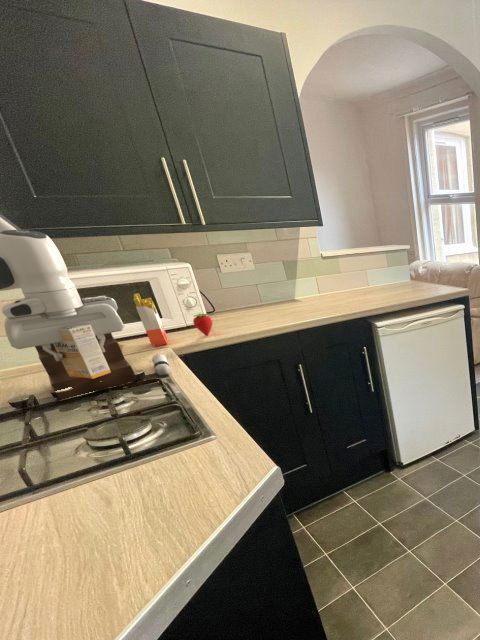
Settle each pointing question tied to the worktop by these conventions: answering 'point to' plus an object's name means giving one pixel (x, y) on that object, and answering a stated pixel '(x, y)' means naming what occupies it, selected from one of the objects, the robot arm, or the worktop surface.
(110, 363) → the step shelf
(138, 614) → the worktop surface
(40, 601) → the worktop surface
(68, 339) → the supplement box
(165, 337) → the french fries container
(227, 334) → the worktop surface
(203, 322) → the strawberry
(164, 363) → the torpedo
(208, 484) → the worktop surface
